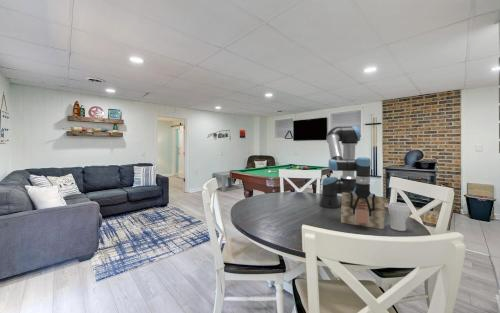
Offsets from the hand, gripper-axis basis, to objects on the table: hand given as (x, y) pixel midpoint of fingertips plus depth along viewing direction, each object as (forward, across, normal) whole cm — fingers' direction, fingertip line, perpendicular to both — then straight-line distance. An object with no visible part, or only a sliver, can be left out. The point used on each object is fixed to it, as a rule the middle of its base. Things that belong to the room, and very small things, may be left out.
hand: (361, 220), depth 130 cm
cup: (+5, +20, +9) cm, 22 cm away
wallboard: (+5, 0, +7) cm, 8 cm away
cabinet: (0, 0, +2) cm, 2 cm away
